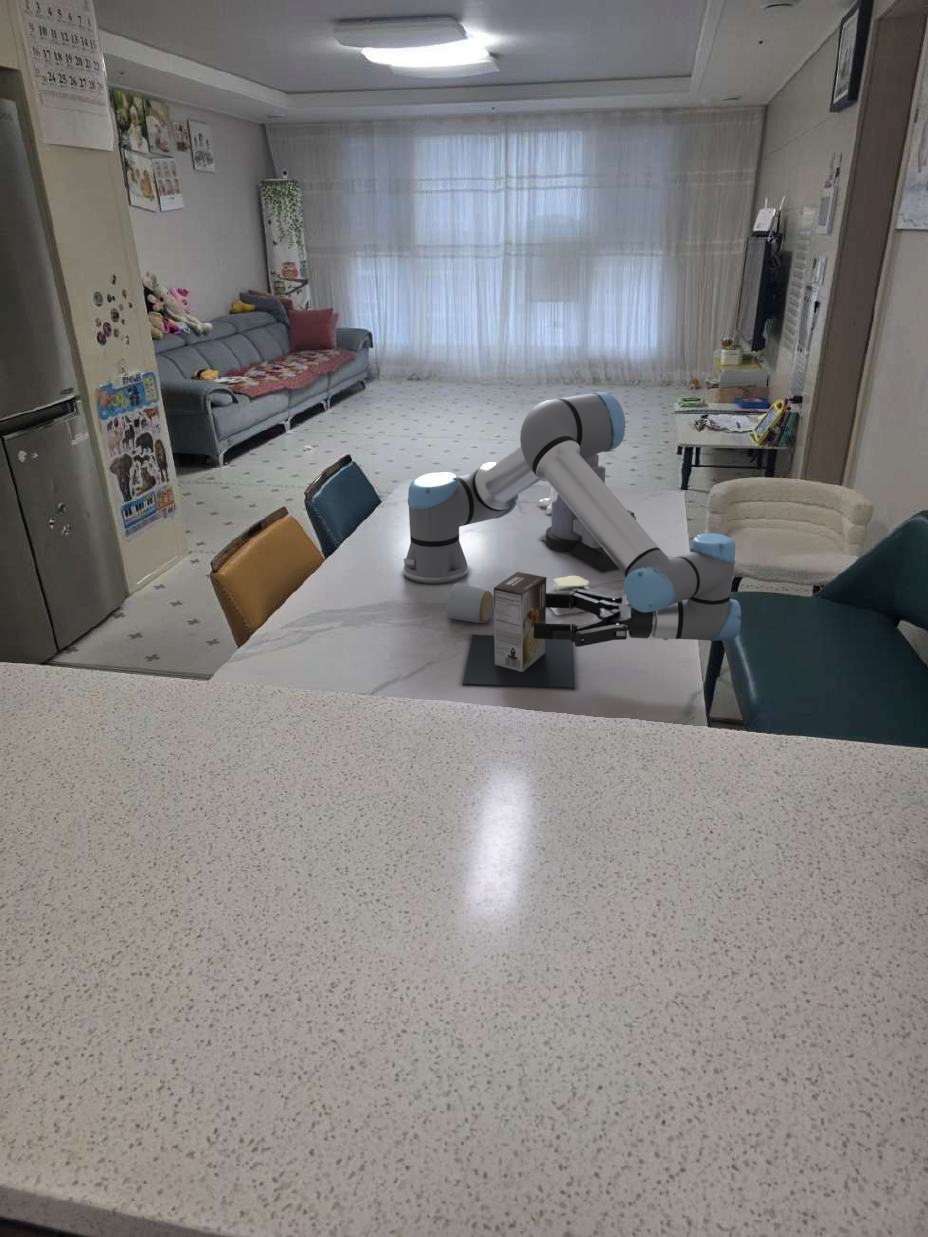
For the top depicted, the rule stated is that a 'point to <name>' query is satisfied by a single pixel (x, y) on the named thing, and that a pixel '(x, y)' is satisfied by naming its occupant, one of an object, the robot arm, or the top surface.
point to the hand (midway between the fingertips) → (534, 614)
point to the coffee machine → (578, 531)
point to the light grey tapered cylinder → (469, 603)
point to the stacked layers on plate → (568, 591)
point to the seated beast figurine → (549, 501)
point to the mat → (543, 673)
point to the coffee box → (519, 620)
